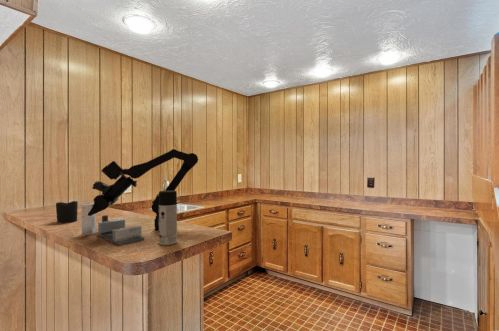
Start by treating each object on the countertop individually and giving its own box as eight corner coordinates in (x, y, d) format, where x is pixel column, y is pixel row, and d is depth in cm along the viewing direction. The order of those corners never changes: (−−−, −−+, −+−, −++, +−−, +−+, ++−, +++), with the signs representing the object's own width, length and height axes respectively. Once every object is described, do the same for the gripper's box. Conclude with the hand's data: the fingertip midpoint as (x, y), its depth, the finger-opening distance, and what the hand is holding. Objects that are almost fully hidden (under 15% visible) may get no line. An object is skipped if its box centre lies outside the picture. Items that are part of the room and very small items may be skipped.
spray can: (161, 240, 105) (160, 190, 105) (178, 240, 106) (178, 190, 105) (156, 246, 98) (156, 192, 98) (175, 245, 99) (174, 192, 99)
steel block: (95, 232, 119) (95, 202, 118) (92, 235, 114) (91, 204, 113) (85, 232, 118) (85, 203, 117) (81, 235, 113) (81, 205, 112)
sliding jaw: (92, 228, 119) (91, 217, 119) (115, 224, 126) (115, 213, 126) (100, 233, 112) (100, 220, 112) (125, 228, 119) (124, 217, 119)
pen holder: (68, 223, 134) (67, 204, 134) (51, 223, 136) (51, 203, 135) (82, 219, 144) (81, 201, 144) (66, 219, 145) (66, 201, 145)
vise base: (97, 234, 114) (97, 223, 114) (122, 230, 121) (121, 219, 121) (118, 245, 99) (118, 232, 99) (144, 239, 106) (144, 227, 106)
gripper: (110, 173, 126) (84, 197, 123) (99, 175, 108) (68, 204, 105) (128, 189, 128) (103, 213, 125) (120, 194, 110) (90, 222, 107)
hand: (92, 213), depth 116 cm, fingers open, 9 cm apart
